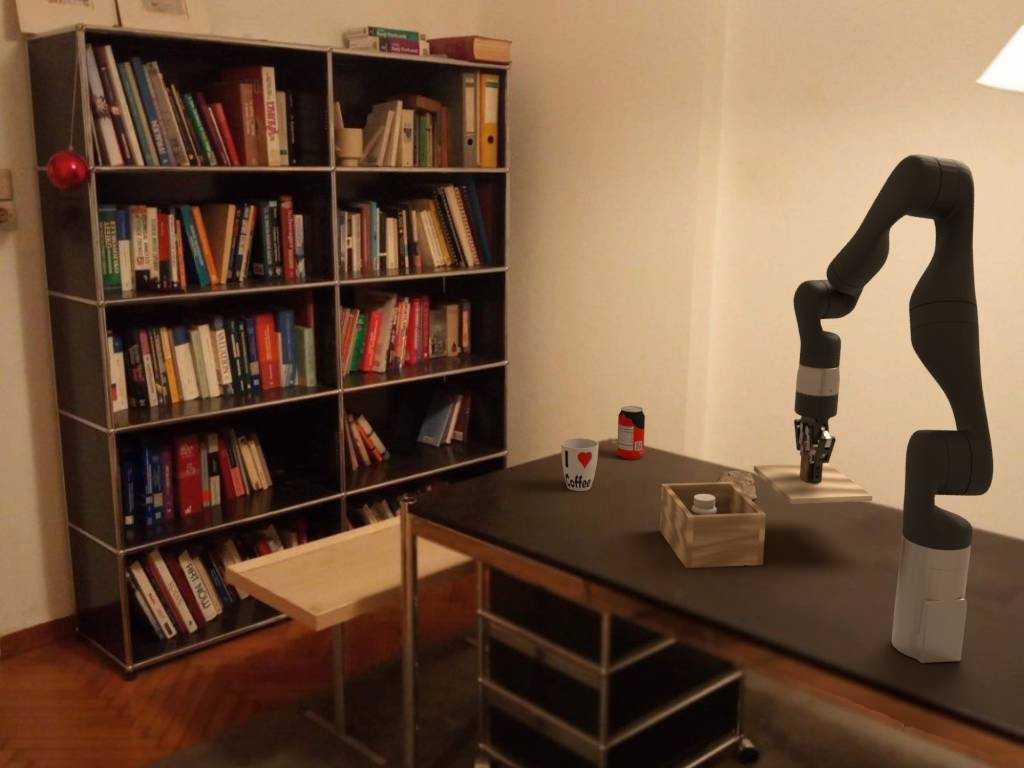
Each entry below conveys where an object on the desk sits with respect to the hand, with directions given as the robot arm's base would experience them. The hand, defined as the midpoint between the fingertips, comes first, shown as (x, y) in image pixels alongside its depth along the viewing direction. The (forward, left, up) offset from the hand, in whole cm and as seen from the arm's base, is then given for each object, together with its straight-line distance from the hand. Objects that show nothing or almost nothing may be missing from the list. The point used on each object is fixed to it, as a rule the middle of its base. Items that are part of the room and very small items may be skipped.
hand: (810, 478), depth 185 cm
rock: (+28, +4, -13) cm, 31 cm away
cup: (+35, +37, -13) cm, 53 cm away
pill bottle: (+3, +19, -13) cm, 23 cm away
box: (-1, +19, -12) cm, 23 cm away
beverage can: (+56, +21, -13) cm, 61 cm away
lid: (0, 0, -1) cm, 1 cm away
